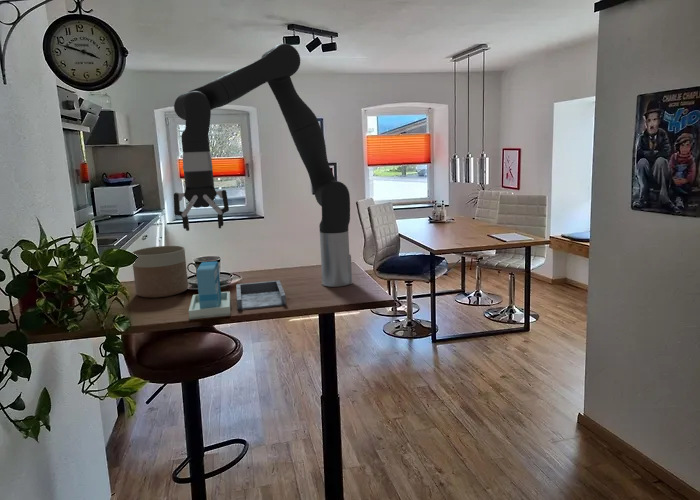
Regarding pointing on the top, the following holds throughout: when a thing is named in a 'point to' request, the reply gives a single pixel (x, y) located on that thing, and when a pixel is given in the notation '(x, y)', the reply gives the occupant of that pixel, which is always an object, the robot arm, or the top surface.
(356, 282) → the top surface
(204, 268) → the blue flat block
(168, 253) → the planter
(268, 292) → the bay
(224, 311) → the tray
